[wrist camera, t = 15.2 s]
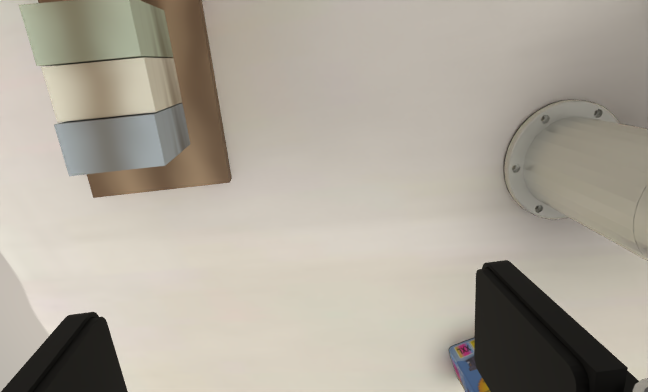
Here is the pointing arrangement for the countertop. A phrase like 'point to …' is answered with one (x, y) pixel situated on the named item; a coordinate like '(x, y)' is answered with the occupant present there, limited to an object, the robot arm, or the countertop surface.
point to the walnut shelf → (197, 111)
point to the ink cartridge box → (467, 367)
